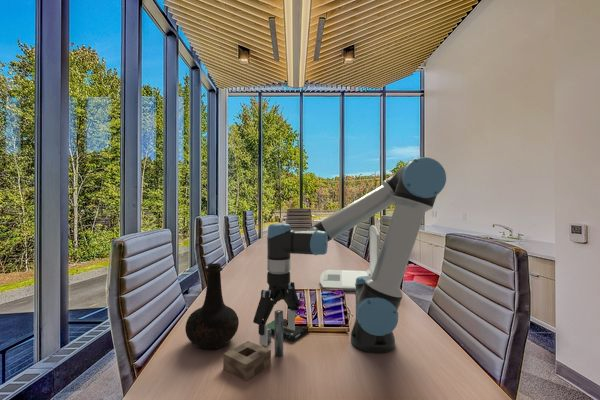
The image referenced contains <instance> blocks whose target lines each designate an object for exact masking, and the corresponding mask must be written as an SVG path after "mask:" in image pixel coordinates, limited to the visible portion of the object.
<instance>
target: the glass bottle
mask: <svg viewBox="0 0 600 400" xmlns="http://www.w3.org/2000/svg"><path fill="white" fill-rule="evenodd" d="M204 271H205V272H207V278H206V279H207V280H206V281H207V282H206V291H205V297H204V301H203V304H202V306H201V307H199V308H196V309H195V310H193V312H191V313H190V315H189V316H188V318H187V320H186V323H185V328H184V329H185V334H186V337H187V339H188V340H189V342H191V344H193V345H194V346H196V347H199V348H201V349H205V350H212V349H213V350H214V349H218V348H220V347H224V346H226V345H227V344H228V343H229V342H230V341H231V340H233V337H234V336H235V335H236V334H237V331H238V329H239V322H240V321H239V316H238V315H237V312H236V311H235V310H234V309H233V308H231V307H230V306H227V305H226V304H225V302H224V297H223V292H222V290H223V289H222V280H221V279H222V277H221V271H223V267H221V263H219V262H216V263H213V262H210V263H208V264H207V267H206V268H205V270H204Z"/></svg>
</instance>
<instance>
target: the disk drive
mask: <svg viewBox="0 0 600 400" xmlns="http://www.w3.org/2000/svg"><path fill="white" fill-rule="evenodd" d="M287 320H288V319H286V318H283V340H285V341H288V342H290V341H291V343H294V342H296V341H297V340H299V339H301V338H302V337H304V336H305V335H307V334H308V328H309V329H310V327H309V326H308V327H295V330H291V329H288V325H287ZM267 324H268V328H271V336H274V337H275V319H273V320H272V321H270V322H269V323H267Z"/></svg>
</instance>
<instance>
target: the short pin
mask: <svg viewBox="0 0 600 400" xmlns="http://www.w3.org/2000/svg"><path fill="white" fill-rule="evenodd" d="M271 343H272V335H271V328H268V344H271Z"/></svg>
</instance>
